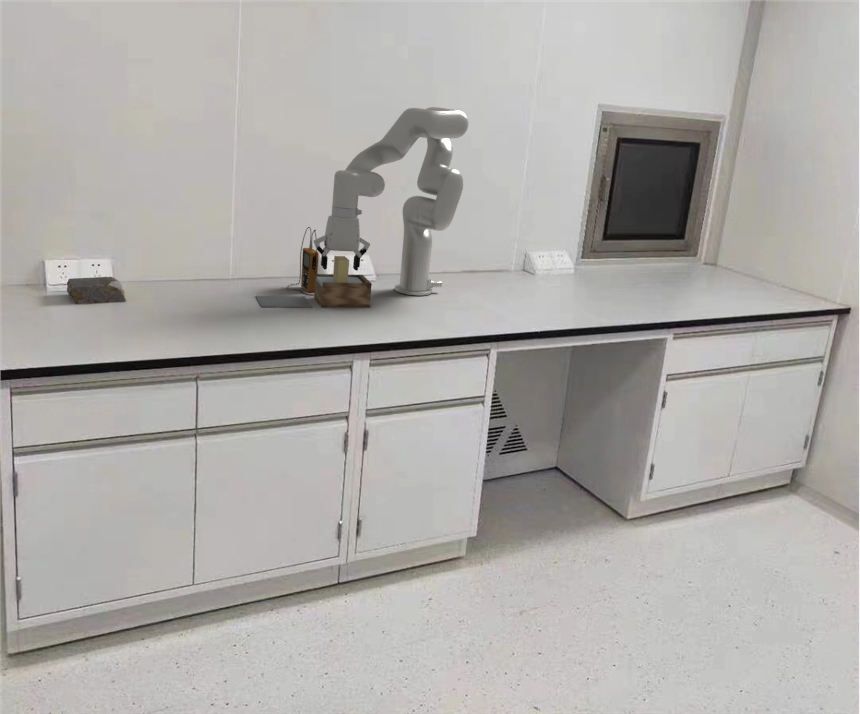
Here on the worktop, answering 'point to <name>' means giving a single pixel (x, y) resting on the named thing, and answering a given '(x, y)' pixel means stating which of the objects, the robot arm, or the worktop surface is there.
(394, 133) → the robot arm
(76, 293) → the geological specimen
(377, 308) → the worktop surface
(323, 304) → the case
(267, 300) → the mat
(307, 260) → the multimeter
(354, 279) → the cover plate
